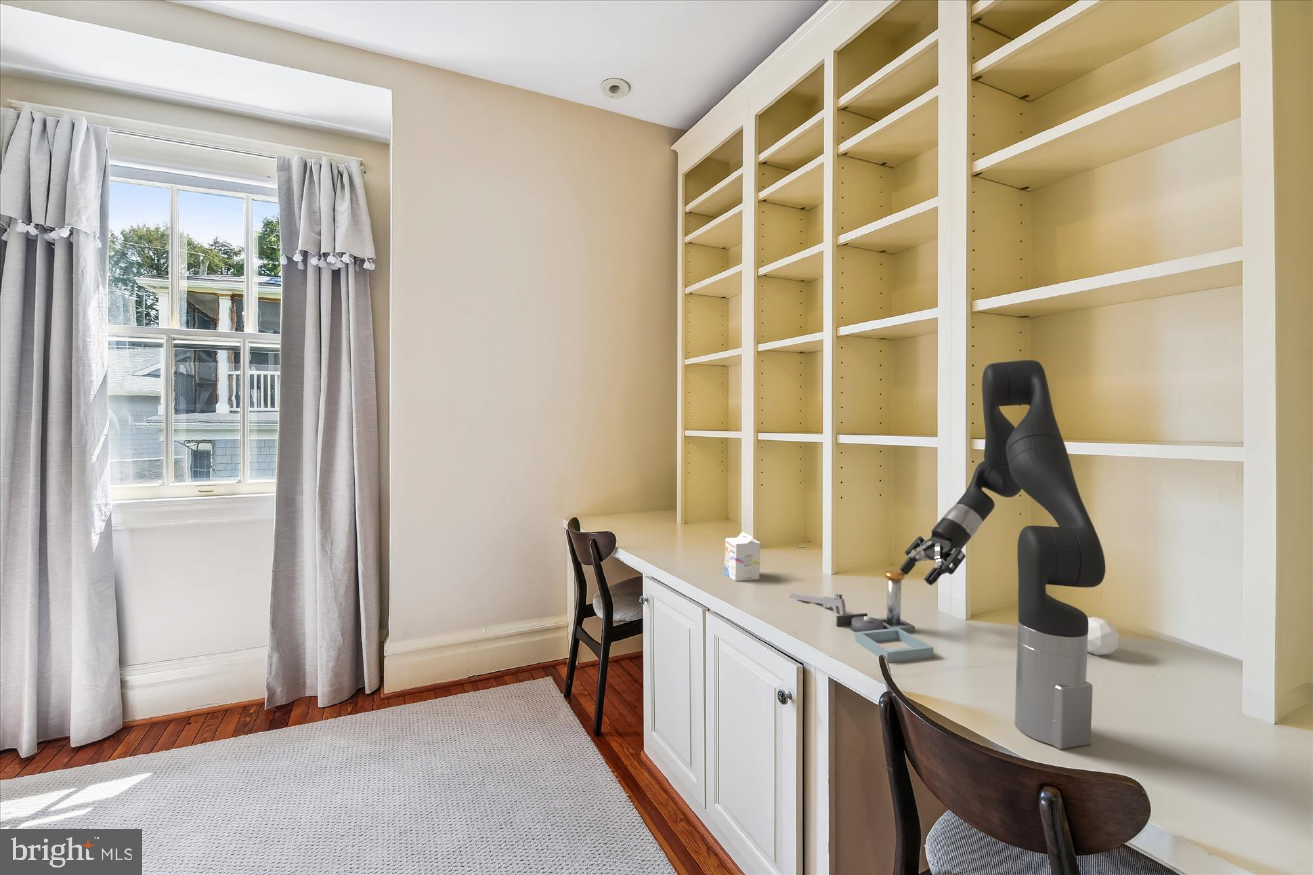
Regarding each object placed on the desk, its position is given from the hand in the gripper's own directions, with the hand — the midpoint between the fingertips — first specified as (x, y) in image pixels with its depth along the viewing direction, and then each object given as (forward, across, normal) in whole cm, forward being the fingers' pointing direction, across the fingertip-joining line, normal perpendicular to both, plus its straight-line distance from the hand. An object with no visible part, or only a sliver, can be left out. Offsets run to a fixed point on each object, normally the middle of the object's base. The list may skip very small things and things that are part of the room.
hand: (914, 577), depth 134 cm
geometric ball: (-12, +20, +30) cm, 38 cm away
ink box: (+25, -50, -7) cm, 57 cm away
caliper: (+20, -20, -1) cm, 28 cm away
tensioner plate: (+15, 0, +3) cm, 16 cm away
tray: (+18, +10, -1) cm, 21 cm away
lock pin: (+12, 0, +4) cm, 13 cm away
